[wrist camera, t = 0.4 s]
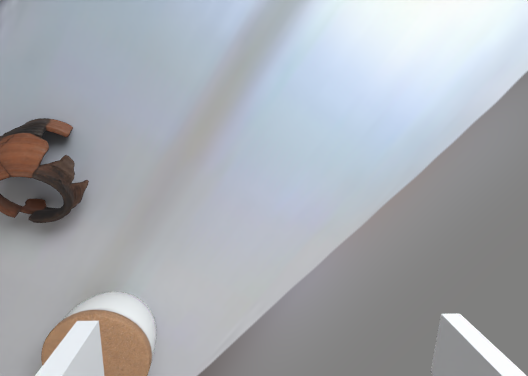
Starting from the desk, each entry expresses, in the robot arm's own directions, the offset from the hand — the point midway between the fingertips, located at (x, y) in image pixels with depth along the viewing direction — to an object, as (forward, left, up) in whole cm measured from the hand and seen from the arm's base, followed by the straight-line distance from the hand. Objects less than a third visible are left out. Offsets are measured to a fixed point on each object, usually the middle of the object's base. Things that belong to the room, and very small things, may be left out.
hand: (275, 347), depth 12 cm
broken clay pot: (-6, -22, -26) cm, 35 cm away
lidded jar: (+14, -18, -26) cm, 35 cm away
